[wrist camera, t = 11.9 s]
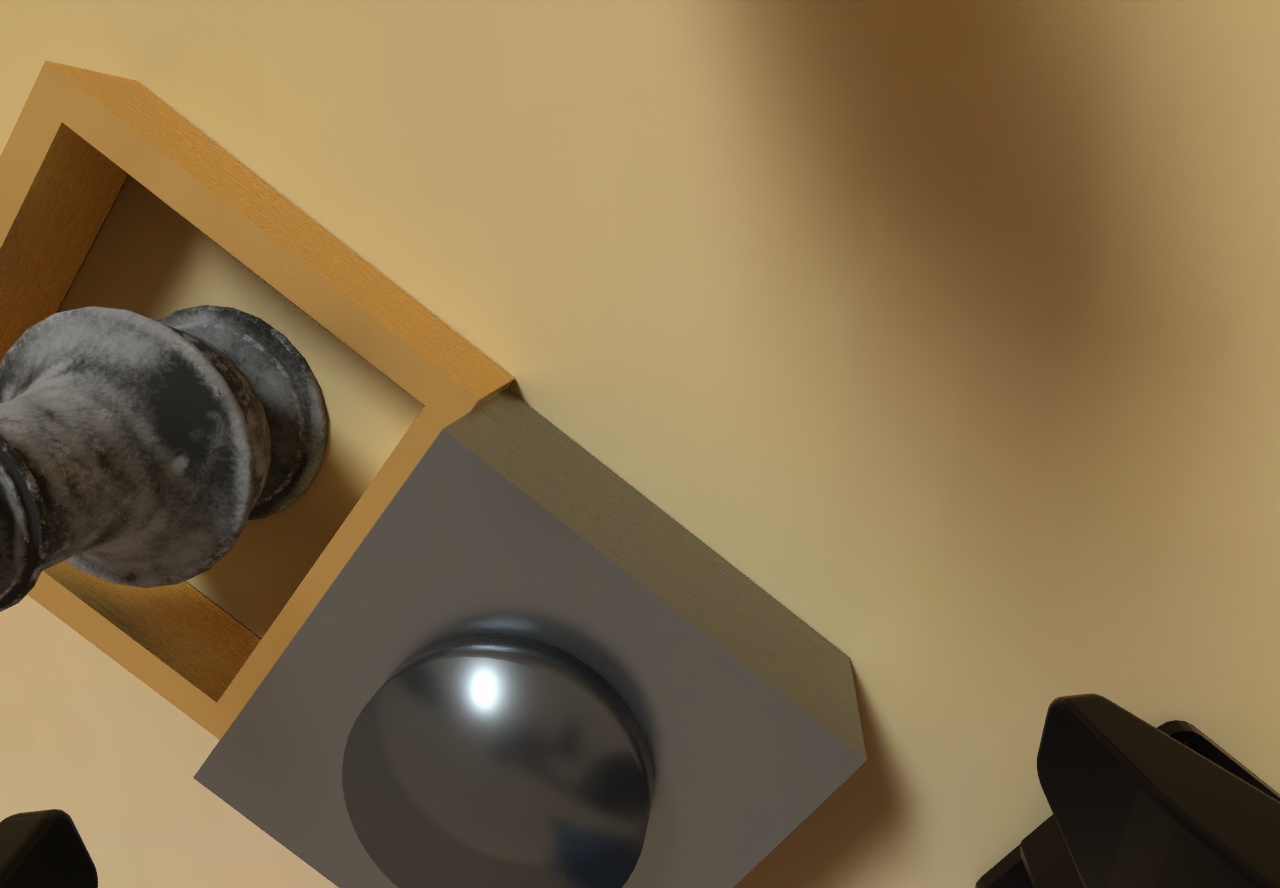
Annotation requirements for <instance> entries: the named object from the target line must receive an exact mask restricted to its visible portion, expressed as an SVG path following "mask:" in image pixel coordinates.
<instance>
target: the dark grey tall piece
mask: <svg viewBox="0 0 1280 888" xmlns="http://www.w3.org/2000/svg"><path fill="white" fill-rule="evenodd" d="M326 443H327V417H326V410H325V406H324V403H323V399H322V395H321V391H320V388H319V384H318V383H317V381H316V379H315V377H314V375H313V373H312V371H311V370H310V368H309V366H308V364H307V362H306V360H305V358H304V357H303V356H302V355H301V354H300V353H299V352H298V350H297V349H296V348H295V347H294V346H293V345H292V344H291V343H290V341H289V340H288V339H287V338H286V337H285V336H284V335H283V334H281V333H280V332H279V331H277V330H276V329H274V328H273V327H272V326H270V325H269V324H267V323H266V322H264V321H263V320H262V319H260V318H258V317H255V316H253V315H250V314H247V313H245V312H242V311H240V310H237V309H235V308H229V307H219V306H209V305H204V306H198V307H193V308H188V309H183V310H177V311H175V312H173V313H171V314H170V315H168V316H166V317H164V318H162V319H160V320H159V321H156V320H153V319H151V318H148V317H145V316H143V315H140V314H138V313H135V312H133V311H130V310H125V309H116V308H106V307H96V306H89V307H84V308H79V309H74V310H69V311H64V312H59V313H55V314H53V315H51V316H49V317H48V318H46V319H44V320H42V321H41V322H39V323H37V324H35V325H34V326H32V327H30V328H28V329H27V330H26V331H25V332H24V333H23V334H22V335H21V337H20V338H19V339H18V340H17V341H16V342H15V343H14V344H13V346H12V347H11V348H10V349H9V350H8V351H7V352H6V354H5V355H4V358H3V360H2V362H1V365H0V612H1V611H3V610H5V609H7V608H9V607H11V606H13V605H15V604H17V603H19V602H20V601H21V600H22V599H23V598H24V597H25V596H26V595H27V594H28V593H29V592H30V590H31V589H32V588H33V587H34V586H35V584H36V582H37V580H38V578H39V576H40V574H41V572H42V571H43V570H45V569H48V568H50V567H52V566H54V565H56V564H58V563H60V562H62V561H64V560H65V561H67V562H68V563H70V564H71V565H73V566H74V567H75V568H77V569H78V570H81V571H83V572H86V573H88V574H90V575H93V576H95V577H98V578H100V579H103V580H105V581H108V582H110V583H113V584H120V585H127V586H133V587H140V588H151V587H159V586H167V585H175V584H179V583H181V582H183V581H186V580H188V579H190V578H192V577H194V576H197V575H199V574H201V573H203V572H206V571H207V570H209V569H210V568H211V567H212V566H213V565H214V564H215V563H216V562H218V561H219V560H220V559H221V558H222V557H223V556H224V555H225V554H226V553H227V552H229V551H230V550H231V549H232V547H233V546H234V544H235V542H236V540H237V539H238V537H239V535H240V533H241V532H242V530H243V528H244V526H245V525H246V523H247V521H248V520H252V519H259V518H265V517H267V516H269V515H271V514H273V513H276V512H278V511H280V510H282V509H284V508H286V507H288V506H290V505H291V504H292V503H293V502H294V501H295V500H296V499H297V498H298V497H300V496H301V495H302V494H303V493H304V492H305V491H306V490H307V489H308V488H309V486H310V484H311V482H312V481H313V479H314V477H315V476H316V474H317V472H318V471H319V469H320V467H321V463H322V459H323V455H324V451H325V447H326Z"/></svg>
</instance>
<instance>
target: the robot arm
mask: <svg viewBox="0 0 1280 888" xmlns="http://www.w3.org/2000/svg"><path fill="white" fill-rule="evenodd" d="M1179 741H1188V744H1187V745H1186V746H1185V745H1183V744H1182V743H1180V742H1179ZM1037 771H1038V777H1039V780H1040V783H1041V786H1042V789H1043V791H1044V793H1045V796H1046V798H1047V800H1048V803H1049V805H1050V807H1051V810H1052V812H1053V815H1052V816H1050V817H1049V818H1048V819H1047V820H1046V821H1045V822H1043V823H1042V824H1041V825H1040V826H1039V827H1038V828H1036V829H1035V830H1034V831H1033V832H1032V833H1030V834H1029V835H1028V836H1027V837H1026V838H1025V839H1023V840H1022V842H1021V844H1020V845H1019V846H1017V847H1016V848H1015V849H1014V850H1013V851H1012V852H1010V853H1009V854H1008V855H1007V856H1006V857H1004V858H1003V859H1002V860H1001V861H1000V862H999V863H997V864H996V865H995V866H994V867H993V868H991V869H990V870H989V871H988V872H987V873H986V874H984V875H983V876H982V877H981V878H980V879H979V881H978V882H977V883H976V887H975V888H1280V794H1279V793H1277V792H1276V791H1275V790H1274V789H1272V788H1271V787H1270V786H1269V785H1267V784H1266V783H1265V782H1264V781H1262V780H1261V779H1260V778H1259V777H1257V776H1256V775H1255V774H1254V773H1252V772H1251V771H1250V770H1249V769H1247V768H1246V767H1245V766H1244V765H1242V764H1241V763H1240V762H1239V761H1237V760H1236V759H1235V758H1234V757H1232V756H1231V755H1230V754H1228V753H1227V752H1226V751H1225V750H1223V749H1222V748H1221V747H1220V746H1218V745H1217V744H1216V743H1215V742H1213V741H1212V740H1211V739H1210V738H1208V737H1207V736H1206V735H1205V734H1203V733H1202V732H1201V731H1200V730H1198V729H1197V728H1196V727H1195V726H1193V725H1191V724H1189V723H1187V722H1185V721H1178V720H1175V721H1170V722H1166V723H1164V724H1163V725H1161V726H1159V727H1158V728H1155V727H1153V726H1152V725H1150V724H1148V723H1147V722H1145V721H1143V720H1142V719H1140V718H1138V717H1137V716H1135V715H1133V714H1132V713H1130V712H1128V711H1127V710H1125V709H1123V708H1122V707H1120V706H1118V705H1117V704H1115V703H1113V702H1112V701H1110V700H1108V699H1106V698H1104V697H1102V696H1100V695H1097V694H1082V695H1073V696H1064V697H1058V698H1056V699H1054V700H1053V701H1052V703H1051V704H1050V705H1049V708H1048V712H1047V716H1046V721H1045V725H1044V729H1043V734H1042V738H1041V743H1040V747H1039V751H1038V756H1037ZM0 888H98V877H97V872H96V868H95V865H94V863H93V861H92V859H91V857H90V855H89V853H88V851H87V849H86V847H85V845H84V843H83V841H82V839H81V837H80V835H79V833H78V831H77V829H76V827H75V825H74V823H73V821H72V819H71V817H70V816H69V815H68V814H67V813H65V812H64V811H62V810H57V809H53V810H44V811H35V812H26V813H18V814H15V815H12V816H10V817H8V818H6V819H4V820H3V821H2V822H0Z"/></svg>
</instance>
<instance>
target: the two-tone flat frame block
mask: <svg viewBox="0 0 1280 888" xmlns="http://www.w3.org/2000/svg"><path fill="white" fill-rule="evenodd" d="M128 174H129V175H130V176H132V177H133V178H134V179H136V180H137V181H138V182H139V183H141V184H142V185H143V186H144V187H146V188H147V189H148V190H150V191H151V192H152V193H153V194H155V195H156V196H157V197H159V198H160V199H161V200H162V201H164V202H165V203H166V204H168V205H169V206H170V207H171V208H173V209H174V210H175V211H176V212H178V213H179V214H180V215H182V216H183V217H184V218H185V219H187V220H188V221H189V222H191V223H192V224H193V225H194V226H196V227H197V228H198V229H199V230H201V231H202V232H203V233H205V234H206V235H207V236H208V237H210V238H211V239H212V240H214V241H215V242H216V243H217V244H219V245H220V246H221V247H223V248H224V249H225V250H226V251H228V252H229V253H230V254H231V255H233V256H234V257H235V258H237V259H238V260H239V261H240V262H242V263H243V264H244V265H246V266H247V267H248V268H249V269H251V270H252V271H253V272H255V273H256V274H257V275H258V276H260V277H261V278H262V279H263V280H265V281H266V282H267V283H269V284H270V285H271V286H272V287H274V288H275V289H276V290H278V291H279V292H280V293H281V294H283V295H284V296H285V297H286V298H288V299H289V300H290V301H292V302H293V303H294V304H295V305H297V306H298V307H299V308H301V309H302V310H303V311H304V312H306V313H307V314H308V315H310V316H311V317H312V318H313V319H315V320H316V321H317V322H318V323H320V324H321V325H322V326H324V327H325V328H326V329H327V330H329V331H330V332H331V333H333V334H334V335H335V336H336V337H338V338H339V339H340V340H342V341H343V342H344V343H345V344H347V345H348V346H349V347H350V348H352V349H353V350H354V351H356V352H357V353H358V354H359V355H361V356H362V357H363V358H365V359H366V360H367V361H368V362H370V363H371V364H372V365H374V366H375V367H376V368H377V369H379V370H380V371H381V372H382V373H384V374H385V375H386V376H388V377H389V378H390V379H391V380H393V381H394V382H395V383H397V384H398V385H399V386H400V387H402V388H403V389H404V390H405V391H407V392H408V393H409V394H411V395H412V396H413V397H414V398H416V399H417V400H418V401H420V402H421V403H422V404H423V405H425V407H424V408H423V409H422V411H421V412H420V414H419V415H418V417H417V418H416V419H415V421H414V422H413V424H412V425H411V427H410V428H409V429H408V431H407V432H406V434H405V435H404V437H403V438H402V439H401V441H400V442H399V444H398V445H397V447H396V448H395V449H394V451H393V452H392V454H391V455H390V457H389V458H388V459H387V461H386V462H385V464H384V465H383V467H382V468H381V469H380V471H379V472H378V474H377V475H376V477H375V478H374V479H373V481H372V482H371V484H370V485H369V487H368V488H367V489H366V491H365V492H364V494H363V495H362V497H361V498H360V499H359V501H358V502H357V504H356V505H355V507H354V508H353V509H352V511H351V512H350V514H349V515H348V517H347V518H346V519H345V521H344V522H343V524H342V525H341V527H340V528H339V529H338V531H337V532H336V534H335V535H334V537H333V538H332V539H331V541H330V542H329V544H328V545H327V547H326V548H325V549H324V551H323V552H322V554H321V555H320V557H319V558H318V559H317V561H316V562H315V564H314V565H313V567H312V568H311V569H310V571H309V572H308V574H307V575H306V577H305V578H304V579H303V581H302V582H301V584H300V585H299V586H298V588H297V589H296V591H295V592H294V594H293V595H292V596H291V598H290V599H289V601H288V602H287V604H286V605H285V606H284V608H283V609H282V611H281V612H280V614H279V615H278V616H277V618H276V619H275V621H274V622H273V624H272V625H271V626H270V628H269V629H268V631H267V632H266V634H265V635H264V636H263V638H262V639H260V638H258V637H257V636H256V635H254V634H253V633H252V632H251V631H249V630H248V629H247V628H245V627H244V626H243V625H241V624H240V623H239V622H237V621H236V620H235V619H233V618H232V617H231V616H230V615H228V614H227V613H226V612H224V611H223V610H222V609H220V608H219V607H218V606H216V605H215V604H214V603H212V602H211V601H210V600H209V599H207V598H206V597H205V596H203V595H202V594H201V593H199V592H198V591H197V590H195V589H194V588H193V587H192V586H190V585H189V584H188V583H186V582H185V581H183V582H181V583H179V584H175V585H167V586H159V587H151V588H140V587H133V586H127V585H120V584H113V583H110V582H108V581H105V580H103V579H100V578H98V577H95V576H93V575H90V574H88V573H86V572H83V571H81V570H78V569H77V568H75V567H74V566H73V565H71V564H70V563H68V562H67V561H65V560H64V561H62V562H60V563H58V564H56V565H54V566H52V567H50V568H48V569H45V570H43V571H42V572H41V574H40V576H39V578H38V580H37V582H36V584H35V586H34V587H33V588H32V589H31V590H30V592H29V593H28V594H27V595H29V596H30V597H31V598H33V599H34V600H35V601H37V602H38V603H39V604H41V605H42V606H43V607H45V608H46V609H47V610H49V611H50V612H51V613H53V614H54V615H55V616H57V617H58V618H59V619H61V620H62V621H63V622H65V623H66V624H67V625H69V626H70V627H71V628H72V629H74V630H75V631H76V632H78V633H79V634H80V635H82V636H83V637H84V638H86V639H87V640H88V641H90V642H91V643H92V644H94V645H95V646H96V647H98V648H99V649H100V650H102V651H103V652H104V653H106V654H107V655H108V656H110V657H111V658H112V659H114V660H115V661H116V662H117V663H119V664H120V665H121V666H123V667H124V668H125V669H127V670H128V671H129V672H131V673H132V674H133V675H135V676H136V677H137V678H139V679H140V680H141V681H143V682H144V683H145V684H147V685H148V686H149V687H151V688H152V689H153V690H155V691H156V692H157V693H158V694H160V695H161V696H162V697H164V698H165V699H166V700H168V701H169V702H170V703H172V704H173V705H174V706H176V707H177V708H178V709H180V710H181V711H182V712H184V713H185V714H186V715H188V716H189V717H190V718H192V719H193V720H194V721H196V722H197V723H198V724H200V725H201V726H202V727H203V728H205V729H206V730H207V731H209V732H210V733H211V734H213V735H214V736H215V737H217V738H218V739H219V740H220V741H219V742H218V744H217V745H216V747H215V748H214V749H213V751H212V752H211V754H210V755H209V756H208V758H207V759H206V761H205V762H204V763H203V765H202V766H201V768H200V769H199V770H198V772H197V773H196V775H195V776H194V777H193V778H194V779H196V780H197V781H198V782H200V783H201V784H202V785H204V786H205V787H206V788H208V789H209V790H210V791H212V792H213V793H214V794H216V795H217V796H218V797H220V798H221V799H222V800H224V801H225V802H226V803H227V804H229V805H230V806H231V807H233V808H234V809H235V810H237V811H238V812H239V813H241V814H242V815H243V816H245V817H246V818H247V819H249V820H250V821H251V822H253V823H254V824H255V825H257V826H258V827H259V828H261V829H262V830H263V831H265V832H266V833H267V834H269V835H270V836H271V837H273V838H274V839H275V840H277V841H278V842H279V843H281V844H282V845H283V846H285V847H286V848H287V849H289V850H290V851H291V852H293V853H294V854H295V855H297V856H298V857H299V858H301V859H302V860H303V861H305V862H306V863H307V864H309V865H310V866H311V867H313V868H314V869H315V870H316V871H318V872H319V873H320V874H322V875H323V876H324V877H326V878H327V879H328V880H330V881H331V882H332V883H334V884H335V885H336V886H338V887H339V888H733V887H735V886H736V885H737V884H738V883H739V882H740V881H741V880H742V879H743V878H744V877H745V876H746V875H747V874H748V873H749V872H750V871H751V870H752V869H753V868H754V867H756V866H757V865H758V864H759V863H760V862H761V861H762V860H763V859H764V858H765V857H766V856H767V855H768V854H769V853H770V852H771V851H772V850H773V849H774V848H776V847H777V846H778V845H779V844H780V843H781V842H782V841H783V840H784V839H785V838H786V837H787V836H788V835H789V834H790V833H791V832H792V831H793V830H794V829H795V828H797V827H798V826H799V825H800V824H801V823H802V822H803V821H804V820H805V819H806V818H807V817H808V816H809V815H810V814H811V813H812V812H813V811H814V810H815V809H817V808H818V807H819V806H820V805H821V804H822V803H823V802H824V801H825V800H826V799H827V798H828V797H829V796H830V795H831V794H832V793H833V792H834V791H835V790H836V789H838V788H839V787H840V786H841V785H842V784H843V783H844V782H845V781H846V780H847V779H848V778H849V777H850V776H851V775H852V774H853V773H854V772H855V771H856V770H857V769H859V768H860V767H861V766H862V765H863V764H864V763H865V762H866V761H867V757H866V751H865V745H864V739H863V733H862V727H861V721H860V715H859V710H858V704H857V698H856V692H855V686H854V680H853V674H852V668H851V662H850V657H848V656H847V655H846V654H844V653H843V652H842V651H841V650H839V649H838V648H837V647H836V646H834V645H833V644H832V643H830V642H829V641H828V640H827V639H825V638H824V637H823V636H822V635H820V634H819V633H818V632H816V631H815V630H814V629H813V628H811V627H810V626H809V625H808V624H806V623H805V622H804V621H802V620H801V619H800V618H799V617H797V616H796V615H795V614H794V613H792V612H791V611H790V610H788V609H787V608H786V607H785V606H783V605H782V604H781V603H780V602H778V601H777V600H776V599H774V598H773V597H772V596H771V595H769V594H768V593H767V592H766V591H764V590H763V589H762V588H761V587H759V586H758V585H757V584H755V583H754V582H753V581H752V580H750V579H749V578H748V577H747V576H745V575H744V574H743V573H741V572H740V571H739V570H738V569H736V568H735V567H734V566H733V565H731V564H730V563H729V562H727V561H726V560H725V559H724V558H722V557H721V556H720V555H719V554H717V553H716V552H715V551H713V550H712V549H711V548H710V547H708V546H707V545H706V544H705V543H703V542H702V541H701V540H699V539H698V538H697V537H696V536H694V535H693V534H692V533H691V532H689V531H688V530H687V529H685V528H684V527H683V526H682V525H680V524H679V523H678V522H677V521H675V520H674V519H673V518H671V517H670V516H669V515H668V514H666V513H665V512H664V511H663V510H661V509H660V508H659V507H657V506H656V505H655V504H654V503H652V502H651V501H650V500H649V499H647V498H646V497H645V496H643V495H642V494H641V493H640V492H638V491H637V490H636V489H635V488H633V487H632V486H631V485H629V484H628V483H627V482H626V481H624V480H623V479H622V478H621V477H619V476H618V475H617V474H615V473H614V472H613V471H612V470H610V469H609V468H608V467H607V466H605V465H604V464H603V463H601V462H600V461H599V460H598V459H596V458H595V457H594V456H593V455H591V454H590V453H589V452H587V451H586V450H585V449H584V448H582V447H581V446H580V445H579V444H577V443H576V442H575V441H573V440H572V439H571V438H570V437H568V436H567V435H566V434H565V433H563V432H562V431H561V430H559V429H558V428H557V427H556V426H554V425H553V424H552V423H551V422H549V421H548V420H547V419H545V418H544V417H543V416H542V415H540V414H539V413H538V412H537V411H535V410H534V409H533V408H531V407H530V406H529V405H528V404H526V403H525V402H524V401H523V400H521V399H520V398H519V397H517V396H516V395H515V394H514V393H512V392H511V391H510V390H509V389H507V388H508V387H509V385H510V384H511V383H512V381H513V380H514V379H515V378H514V377H512V376H511V375H510V374H509V373H507V372H506V371H505V370H503V369H502V368H501V367H500V366H498V365H497V364H496V363H495V362H493V361H492V360H491V359H489V358H488V357H487V356H486V355H484V354H483V353H482V352H481V351H479V350H478V349H477V348H475V347H474V346H473V345H472V344H470V343H469V342H468V341H467V340H465V339H464V338H463V337H462V336H460V335H459V334H458V333H456V332H455V331H454V330H453V329H451V328H450V327H449V326H448V325H446V324H445V323H444V322H442V321H441V320H440V319H439V318H437V317H436V316H435V315H434V314H432V313H431V312H430V311H428V310H427V309H426V308H425V307H423V306H422V305H421V304H420V303H418V302H417V301H416V300H414V299H413V298H412V297H411V296H409V295H408V294H407V293H406V292H404V291H403V290H402V289H400V288H399V287H398V286H397V285H395V284H394V283H393V282H392V281H390V280H389V279H388V278H387V277H385V276H384V275H383V274H381V273H380V272H379V271H378V270H376V269H375V268H374V267H373V266H371V265H370V264H369V263H367V262H366V261H365V260H364V259H362V258H361V257H360V256H359V255H357V254H356V253H355V252H353V251H352V250H351V249H350V248H348V247H347V246H346V245H345V244H343V243H342V242H341V241H339V240H338V239H337V238H336V237H334V236H333V235H332V234H331V233H329V232H328V231H327V230H325V229H324V228H323V227H322V226H320V225H319V224H318V223H317V222H315V221H314V220H313V219H312V218H310V217H309V216H308V215H306V214H305V213H304V212H303V211H301V210H300V209H299V208H298V207H296V206H295V205H294V204H292V203H291V202H290V201H289V200H287V199H286V198H285V197H284V196H282V195H281V194H280V193H278V192H277V191H276V190H275V189H273V188H272V187H271V186H270V185H268V184H267V183H266V182H264V181H263V180H262V179H261V178H259V177H258V176H257V175H256V174H254V173H253V172H252V171H250V170H249V169H248V168H247V167H245V166H244V165H243V164H242V163H240V162H239V161H238V160H237V159H235V158H234V157H233V156H231V155H230V154H229V153H228V152H226V151H225V150H224V149H223V148H221V147H220V146H219V145H217V144H216V143H215V142H214V141H212V140H211V139H210V138H209V137H207V136H206V135H205V134H203V133H202V132H201V131H200V130H198V129H197V128H196V127H195V126H193V125H192V124H191V123H189V122H188V121H187V120H186V119H184V118H183V117H182V116H181V115H179V114H178V113H177V112H175V111H174V110H173V109H172V108H170V107H169V106H168V105H167V104H165V103H164V102H163V101H162V100H160V99H159V98H158V97H156V96H155V95H154V94H153V93H151V92H150V91H149V90H148V89H146V88H145V87H144V86H142V85H141V84H140V83H139V82H137V81H136V80H131V79H127V78H122V77H118V76H113V75H108V74H104V73H99V72H95V71H90V70H86V69H81V68H77V67H72V66H67V65H63V64H58V63H54V62H49V61H45V63H44V65H43V67H42V69H41V71H40V74H39V76H38V78H37V80H36V82H35V84H34V86H33V89H32V91H31V93H30V95H29V97H28V99H27V101H26V104H25V106H24V108H23V110H22V112H21V114H20V116H19V119H18V121H17V123H16V125H15V127H14V129H13V131H12V134H11V136H10V138H9V140H8V142H7V144H6V146H5V148H4V151H3V153H2V155H1V157H0V365H1V362H2V360H3V358H4V355H5V354H6V352H7V351H8V350H9V349H10V348H11V347H12V346H13V344H14V343H15V342H16V341H17V340H18V339H19V338H20V337H21V335H22V334H23V333H24V332H25V331H26V330H27V329H28V328H30V327H32V326H34V325H35V324H37V323H39V322H41V321H42V320H44V319H46V318H48V317H49V316H51V315H53V314H55V313H56V312H57V310H58V309H59V307H60V305H61V303H62V301H63V299H64V297H65V295H66V293H67V291H68V289H69V287H70V286H71V284H72V282H73V280H74V278H75V276H76V274H77V272H78V270H79V268H80V266H81V264H82V262H83V261H84V259H85V257H86V255H87V253H88V251H89V249H90V247H91V245H92V243H93V241H94V239H95V238H96V236H97V234H98V232H99V230H100V228H101V226H102V224H103V222H104V220H105V218H106V216H107V214H108V213H109V211H110V209H111V207H112V205H113V203H114V201H115V199H116V197H117V195H118V193H119V191H120V190H121V188H122V186H123V184H124V182H125V180H126V178H127V176H128Z"/></svg>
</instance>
